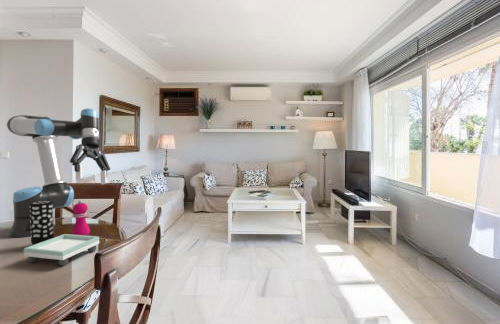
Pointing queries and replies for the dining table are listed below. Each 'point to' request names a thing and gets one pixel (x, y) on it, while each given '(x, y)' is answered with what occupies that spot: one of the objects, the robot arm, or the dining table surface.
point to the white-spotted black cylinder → (41, 221)
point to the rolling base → (61, 247)
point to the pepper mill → (80, 219)
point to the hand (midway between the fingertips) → (92, 181)
